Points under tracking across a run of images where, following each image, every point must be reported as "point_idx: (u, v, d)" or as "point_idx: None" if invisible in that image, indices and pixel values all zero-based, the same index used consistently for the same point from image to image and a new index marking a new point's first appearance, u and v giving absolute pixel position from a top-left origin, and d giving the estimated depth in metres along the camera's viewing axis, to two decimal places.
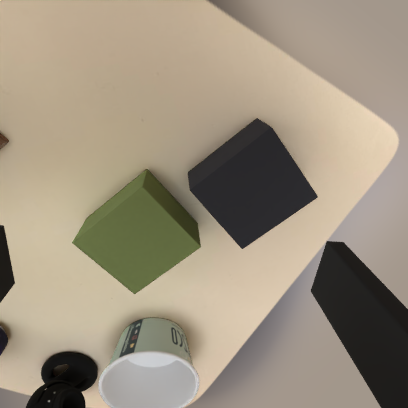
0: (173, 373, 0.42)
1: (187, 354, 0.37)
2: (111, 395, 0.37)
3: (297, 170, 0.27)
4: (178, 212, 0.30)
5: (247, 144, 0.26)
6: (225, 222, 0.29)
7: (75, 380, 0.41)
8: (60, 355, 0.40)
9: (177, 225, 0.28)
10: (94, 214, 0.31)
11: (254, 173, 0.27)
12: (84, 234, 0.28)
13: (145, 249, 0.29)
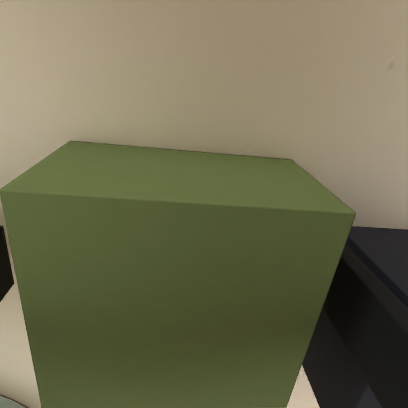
0: None
1: None
2: None
3: None
4: None
5: None
6: None
7: None
8: None
9: (303, 346, 0.10)
10: (107, 152, 0.11)
11: None
12: (68, 198, 0.07)
13: (184, 345, 0.10)
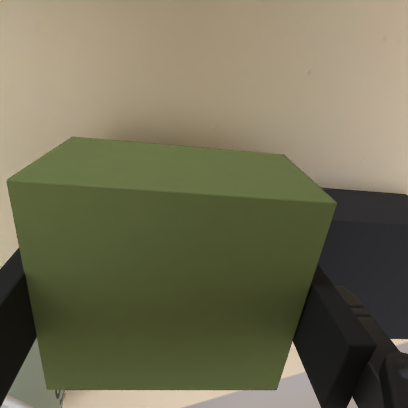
0: None
1: None
2: None
3: None
4: None
5: None
6: None
7: None
8: None
9: (291, 330, 0.11)
10: (107, 146, 0.11)
11: (396, 263, 0.17)
12: (69, 188, 0.08)
13: (178, 327, 0.10)
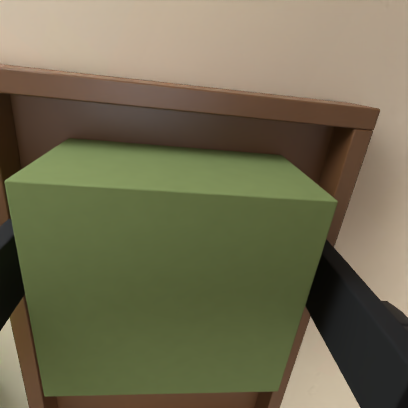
0: None
1: None
2: None
3: None
4: None
5: None
6: None
7: None
8: None
9: (293, 330, 0.11)
10: (105, 148, 0.11)
11: None
12: (68, 189, 0.08)
13: (179, 329, 0.10)
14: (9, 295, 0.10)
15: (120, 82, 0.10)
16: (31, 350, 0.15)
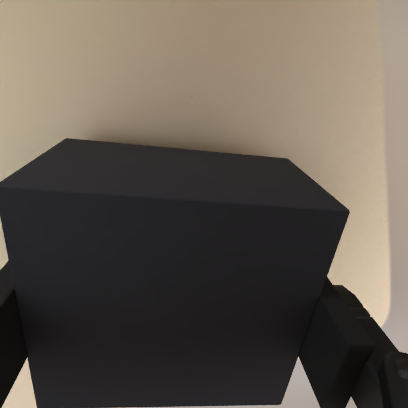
0: None
1: None
2: None
3: (299, 338, 0.10)
4: None
5: (259, 198, 0.08)
6: (42, 334, 0.09)
7: None
8: None
9: None
10: None
11: (211, 280, 0.09)
12: None
13: None
14: None
15: None
16: None
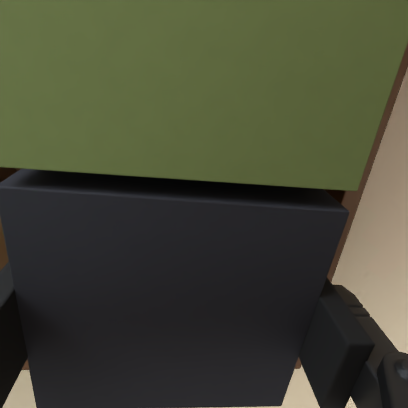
0: None
1: None
2: None
3: (299, 339, 0.10)
4: None
5: (259, 199, 0.08)
6: (41, 335, 0.09)
7: None
8: None
9: (400, 44, 0.06)
10: None
11: (211, 281, 0.09)
12: None
13: (213, 20, 0.06)
14: None
15: None
16: None
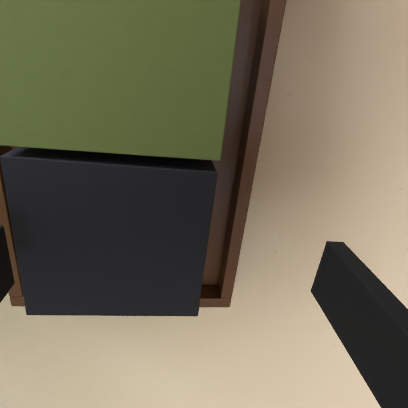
0: None
1: None
2: None
3: (201, 262, 0.15)
4: None
5: (162, 165, 0.13)
6: (29, 256, 0.14)
7: None
8: None
9: (226, 76, 0.12)
10: None
11: (136, 218, 0.14)
12: None
13: (120, 64, 0.11)
14: None
15: None
16: None
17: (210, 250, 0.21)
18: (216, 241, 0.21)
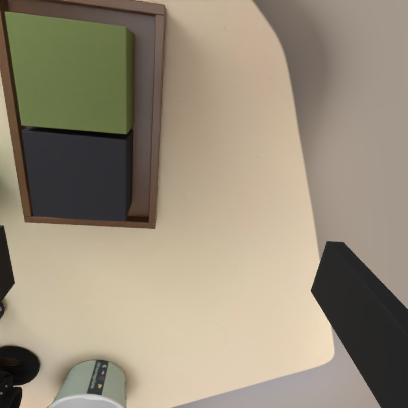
0: None
1: None
2: None
3: (123, 188, 0.29)
4: (130, 91, 0.28)
5: (99, 136, 0.27)
6: (34, 182, 0.28)
7: (15, 377, 0.44)
8: (22, 351, 0.43)
9: (124, 94, 0.25)
10: None
11: (87, 163, 0.28)
12: (26, 16, 0.23)
13: (75, 89, 0.25)
14: None
15: None
16: (18, 136, 0.29)
17: (142, 193, 0.35)
18: (145, 187, 0.34)
